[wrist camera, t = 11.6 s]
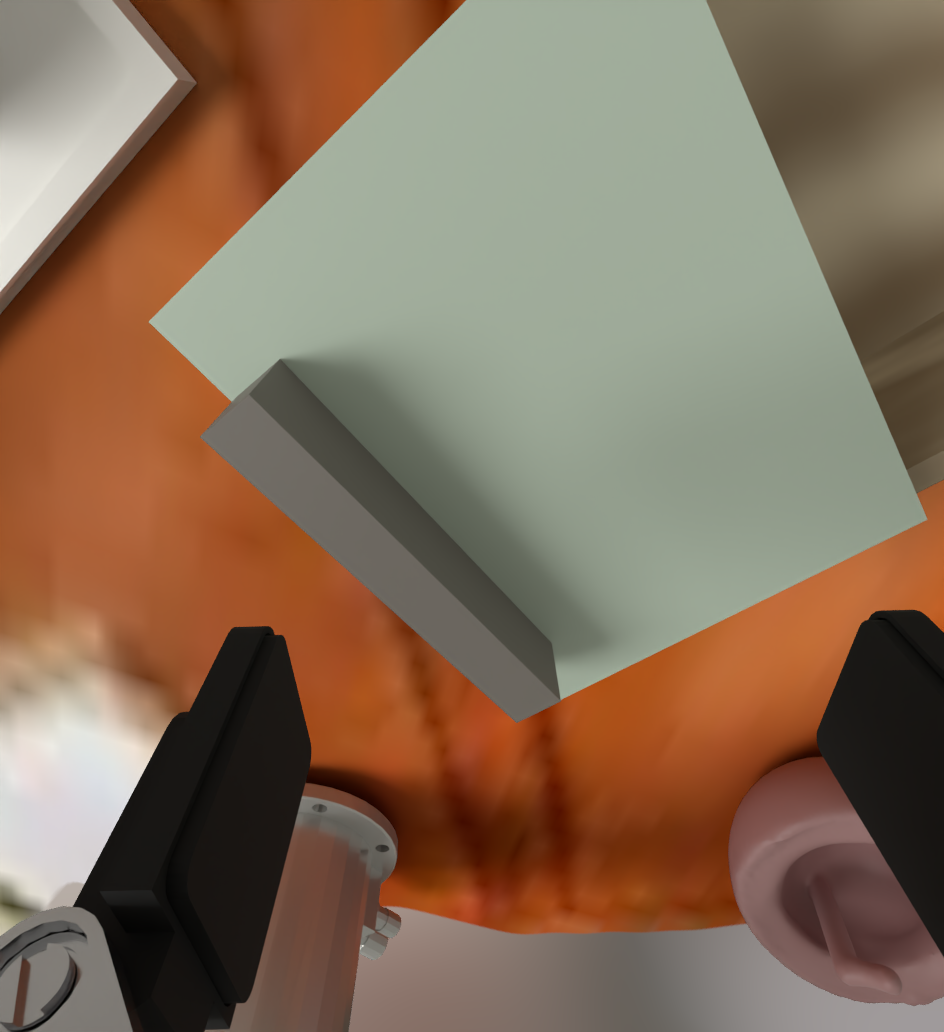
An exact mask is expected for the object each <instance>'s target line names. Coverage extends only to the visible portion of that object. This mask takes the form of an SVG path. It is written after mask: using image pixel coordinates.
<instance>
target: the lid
mask: <svg viewBox="0 0 944 1032" xmlns="http://www.w3.org/2000/svg"><path fill="white" fill-rule="evenodd" d="M149 323H150V324H151V325H152V326H153V327H155V328H156V329H157V330H158V331H159V332H160V333H161V334H162V335H163V336H164V337H165V338H166V339H167V340H168V341H169V342H170V343H171V344H172V345H173V346H174V347H175V348H176V349H177V350H178V351H180V352H181V353H182V354H183V355H184V356H185V357H186V358H187V359H188V360H189V361H190V362H191V363H192V364H193V365H194V366H195V367H196V368H197V369H198V370H199V371H200V372H201V373H202V374H203V375H205V376H206V377H207V378H208V379H209V380H210V381H211V382H212V383H213V384H214V385H215V386H216V387H217V388H218V389H219V390H220V391H221V392H222V393H223V394H224V395H225V396H226V397H227V398H228V399H229V400H231V401H232V402H231V404H230V405H229V406H228V407H227V408H226V409H225V410H224V411H223V412H222V413H221V414H220V416H219V417H218V418H217V419H216V420H215V421H214V422H213V423H212V424H211V425H210V426H209V428H208V429H207V430H206V431H205V432H204V433H203V434H202V435H201V436H200V438H202V439H203V440H204V441H205V442H206V443H207V444H208V445H209V446H210V447H212V448H213V449H214V450H215V451H216V452H217V453H218V454H219V455H220V456H222V457H223V458H224V459H225V460H226V461H227V462H228V463H229V464H230V465H232V466H233V467H234V468H235V469H236V470H237V471H238V472H239V473H240V474H242V475H243V476H244V477H245V478H246V479H247V480H248V481H249V482H250V483H251V484H253V485H254V486H255V487H256V488H257V489H258V490H259V491H260V492H261V493H263V494H264V495H265V496H266V497H267V498H268V499H269V500H270V501H271V502H273V503H274V504H275V505H276V506H277V507H278V508H279V509H280V510H281V511H283V512H284V513H285V514H286V515H287V516H288V517H289V518H290V519H291V520H292V521H294V522H295V523H296V524H297V525H298V526H299V527H300V528H301V529H302V530H304V531H305V532H306V533H307V534H308V535H309V536H310V537H311V538H312V539H314V540H315V541H316V542H317V543H318V544H319V545H320V546H321V547H322V548H324V549H325V550H326V551H327V552H328V553H329V554H330V555H331V556H332V557H334V558H335V559H336V560H337V561H338V562H339V563H340V564H341V565H342V566H343V567H345V568H346V569H347V570H348V571H349V572H350V573H351V574H352V575H353V576H355V577H356V578H357V579H358V580H359V581H360V582H361V583H362V584H363V585H365V586H366V587H367V588H368V589H369V590H370V591H371V592H372V593H373V594H375V595H376V596H377V597H378V598H379V599H380V600H381V601H382V602H383V603H384V604H386V605H387V606H388V607H389V608H390V609H391V610H392V611H393V612H394V613H396V614H397V615H398V616H399V617H400V618H401V619H402V620H403V621H404V622H406V623H407V624H408V625H409V626H410V627H411V628H412V629H413V630H414V631H416V632H417V633H418V634H419V635H420V636H421V637H422V638H423V639H424V640H426V641H427V642H428V643H429V644H430V645H431V646H432V647H433V648H434V649H435V650H437V651H438V652H439V653H440V654H441V655H442V656H443V657H444V658H445V659H447V660H448V661H449V662H450V663H451V664H452V665H453V666H454V667H455V668H457V669H458V670H459V671H460V672H461V673H462V674H463V675H464V676H465V677H467V678H468V679H469V680H470V681H471V682H472V683H473V684H474V685H475V686H477V687H478V688H479V689H480V690H481V691H482V692H483V693H484V694H485V695H486V696H488V697H489V698H490V699H491V700H492V701H493V702H494V703H495V704H496V705H498V706H499V707H500V708H501V709H502V710H503V711H504V712H505V713H506V714H508V715H509V716H510V717H511V718H512V719H513V720H514V721H515V722H516V723H517V722H519V721H521V720H523V719H525V718H528V717H530V716H532V715H534V714H536V713H538V712H540V711H542V710H544V709H546V708H548V707H550V706H552V705H554V704H556V703H558V702H560V701H561V699H563V698H565V697H567V696H569V695H571V694H573V693H575V692H577V691H579V690H581V689H583V688H586V687H588V686H590V685H592V684H594V683H596V682H598V681H600V680H602V679H604V678H606V677H608V676H610V675H612V674H614V673H616V672H618V671H620V670H622V669H624V668H626V667H628V666H630V665H632V664H634V663H636V662H638V661H640V660H642V659H645V658H647V657H649V656H651V655H653V654H655V653H657V652H659V651H661V650H663V649H665V648H667V647H669V646H671V645H673V644H675V643H677V642H679V641H681V640H683V639H685V638H687V637H689V636H691V635H693V634H695V633H697V632H699V631H701V630H704V629H706V628H708V627H710V626H712V625H714V624H716V623H718V622H720V621H722V620H724V619H726V618H728V617H730V616H732V615H734V614H736V613H738V612H740V611H742V610H744V609H746V608H748V607H750V606H752V605H754V604H756V603H758V602H760V601H763V600H765V599H767V598H769V597H771V596H773V595H775V594H777V593H779V592H781V591H783V590H785V589H787V588H789V587H791V586H793V585H795V584H797V583H799V582H801V581H803V580H805V579H807V578H809V577H811V576H813V575H815V574H817V573H819V572H822V571H824V570H826V569H828V568H830V567H832V566H834V565H836V564H838V563H840V562H842V561H844V560H846V559H848V558H850V557H852V556H854V555H856V554H858V553H860V552H862V551H864V550H866V549H868V548H870V547H872V546H874V545H876V544H878V543H881V542H883V541H885V540H887V539H889V538H891V537H893V536H895V535H897V534H899V533H901V532H903V531H905V530H907V529H909V528H911V527H913V526H915V525H917V524H919V523H921V522H923V521H925V520H927V517H926V515H925V513H924V510H923V508H922V506H921V503H920V501H919V498H918V496H917V494H916V491H915V489H914V487H913V484H912V482H911V480H910V477H909V475H908V473H907V470H906V468H905V466H904V463H903V461H902V459H901V456H900V454H899V452H898V449H897V447H896V445H895V442H894V440H893V438H892V435H891V433H890V431H889V428H888V426H887V423H886V421H885V419H884V416H883V414H882V412H881V409H880V407H879V405H878V402H877V400H876V398H875V395H874V393H873V391H872V388H871V386H870V384H869V381H868V379H867V377H866V374H865V372H864V370H863V367H862V365H861V363H860V360H859V358H858V355H857V353H856V351H855V348H854V346H853V344H852V341H851V339H850V337H849V334H848V332H847V330H846V327H845V325H844V323H843V320H842V318H841V316H840V313H839V311H838V309H837V306H836V304H835V302H834V299H833V297H832V295H831V292H830V290H829V288H828V285H827V283H826V280H825V278H824V276H823V273H822V271H821V269H820V266H819V264H818V262H817V259H816V257H815V255H814V252H813V250H812V248H811V245H810V243H809V241H808V238H807V236H806V234H805V231H804V229H803V227H802V224H801V222H800V220H799V217H798V215H797V213H796V210H795V208H794V205H793V203H792V201H791V198H790V196H789V194H788V191H787V189H786V187H785V184H784V182H783V180H782V177H781V175H780V173H779V170H778V168H777V166H776V163H775V161H774V159H773V156H772V154H771V152H770V149H769V147H768V145H767V142H766V140H765V137H764V135H763V133H762V130H761V128H760V126H759V123H758V121H757V119H756V116H755V114H754V112H753V109H752V107H751V105H750V102H749V100H748V98H747V95H746V93H745V91H744V88H743V86H742V84H741V81H740V79H739V77H738V74H737V72H736V70H735V67H734V65H733V62H732V60H731V58H730V55H729V53H728V51H727V48H726V46H725V44H724V41H723V39H722V37H721V34H720V32H719V30H718V27H717V25H716V23H715V20H714V18H713V16H712V13H711V11H710V9H709V6H708V4H707V2H706V0H466V1H465V2H464V3H463V4H462V5H461V6H460V7H459V8H458V9H457V10H456V11H455V12H454V13H453V14H452V15H451V16H450V17H449V18H448V20H447V21H446V22H445V23H444V24H443V25H442V26H441V27H440V28H439V29H438V30H437V31H436V32H435V33H434V34H433V35H432V36H431V37H430V38H429V39H428V40H427V41H426V42H425V43H424V44H423V45H422V46H421V47H420V48H419V49H418V50H417V51H416V52H415V53H414V54H413V55H412V56H411V57H410V58H409V59H408V60H407V61H406V62H405V63H404V64H403V65H402V66H401V67H400V68H399V69H398V70H397V71H396V72H395V73H394V74H393V75H392V76H391V77H390V78H389V79H388V80H387V81H386V82H385V83H384V84H383V85H382V86H381V87H380V88H379V89H378V90H377V91H376V92H375V93H374V94H373V95H372V96H371V97H370V98H369V99H368V100H367V101H366V102H365V103H364V105H363V106H362V107H361V108H360V109H359V110H358V111H357V112H356V113H355V114H354V115H353V116H352V117H351V118H350V119H349V120H348V121H347V122H346V123H345V124H344V125H343V126H342V127H341V128H340V129H339V130H338V131H337V132H336V133H335V134H334V135H333V136H332V137H331V138H330V139H329V140H328V141H327V142H326V143H325V144H324V145H323V146H322V147H321V148H320V149H319V150H318V151H317V152H316V153H315V154H314V155H313V156H312V157H311V158H310V159H309V160H308V161H307V162H306V163H305V164H304V165H303V166H302V167H301V168H300V169H299V170H298V171H297V172H296V173H295V174H294V175H293V176H292V177H291V178H290V179H289V180H288V181H287V182H286V183H285V184H284V185H283V186H282V187H281V188H280V190H279V191H278V192H277V193H276V194H275V195H274V196H273V197H272V198H271V199H270V200H269V201H268V202H267V203H266V204H265V205H264V206H263V207H262V208H261V209H260V210H259V211H258V212H257V213H256V214H255V215H254V216H253V217H252V218H251V219H250V220H249V221H248V222H247V223H246V224H245V225H244V226H243V227H242V228H241V229H240V230H239V231H238V232H237V233H236V234H235V235H234V236H233V237H232V238H231V239H230V240H229V241H228V242H227V243H226V244H225V245H224V246H223V247H222V248H221V249H220V250H219V251H218V252H217V253H216V254H215V255H214V256H213V257H212V258H211V259H210V260H209V261H208V262H207V263H206V264H205V265H204V266H203V267H202V268H201V269H200V270H199V271H198V272H197V273H196V275H195V276H194V277H193V278H192V279H191V280H190V281H189V282H188V283H187V284H186V285H185V286H184V287H183V288H182V289H181V290H180V291H179V292H178V293H177V294H176V295H175V296H174V297H173V298H172V299H171V300H170V301H169V302H168V303H167V304H166V305H165V306H164V307H163V308H162V309H161V310H160V311H159V312H158V313H157V314H156V315H155V316H154V317H153V318H152V319H151V320H150V321H149Z"/></svg>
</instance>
